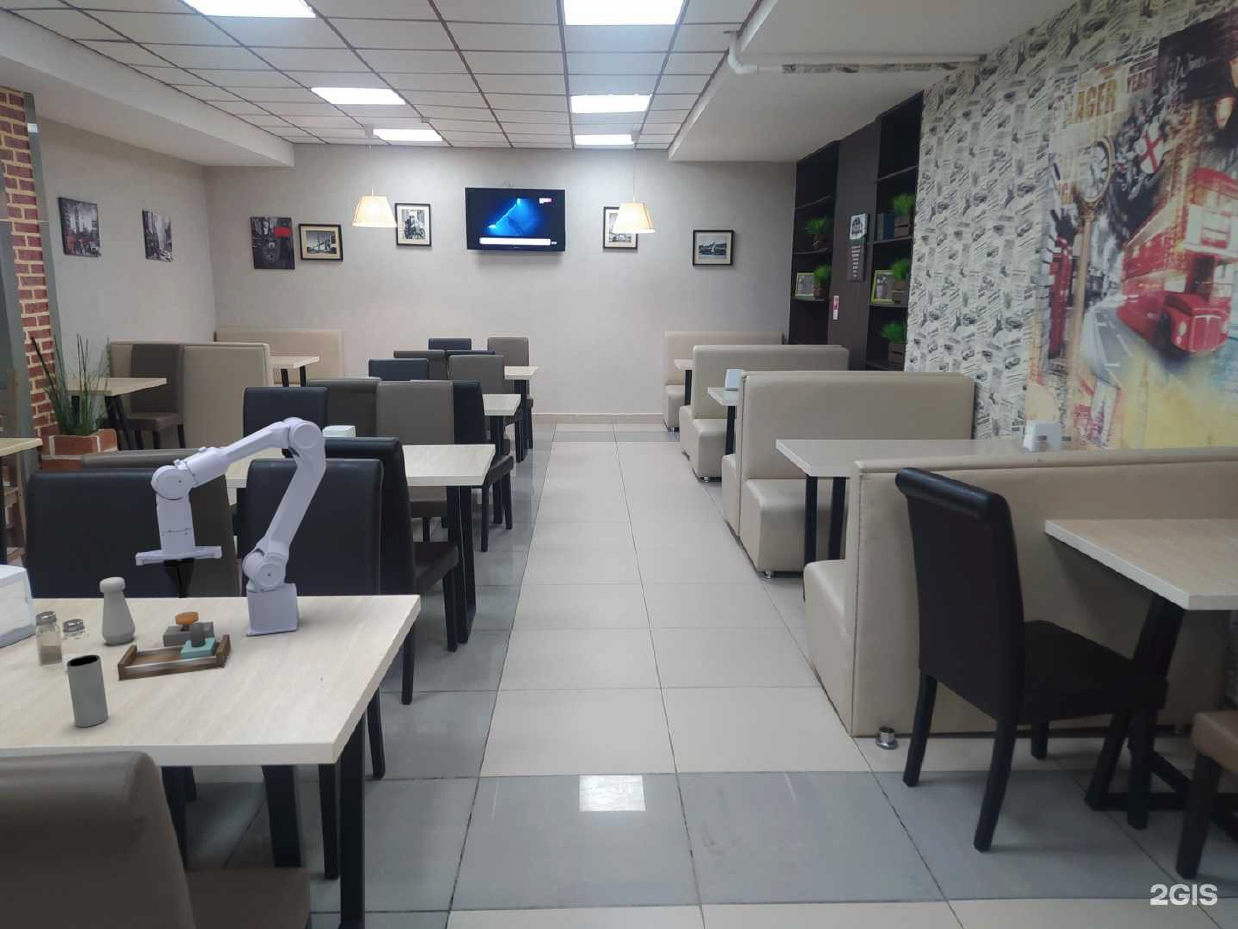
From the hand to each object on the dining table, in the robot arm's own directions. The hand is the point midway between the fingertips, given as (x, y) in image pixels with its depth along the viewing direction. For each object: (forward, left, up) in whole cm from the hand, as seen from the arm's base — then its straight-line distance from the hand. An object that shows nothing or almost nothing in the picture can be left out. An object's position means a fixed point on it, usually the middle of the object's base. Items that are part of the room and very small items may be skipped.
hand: (184, 596), depth 161 cm
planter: (+9, +29, -10) cm, 32 cm away
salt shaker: (+14, -7, -10) cm, 19 cm away
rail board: (0, +9, -10) cm, 14 cm away
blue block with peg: (-3, +9, -9) cm, 13 cm away
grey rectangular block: (0, 0, -10) cm, 10 cm away
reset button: (0, 0, -8) cm, 8 cm away
